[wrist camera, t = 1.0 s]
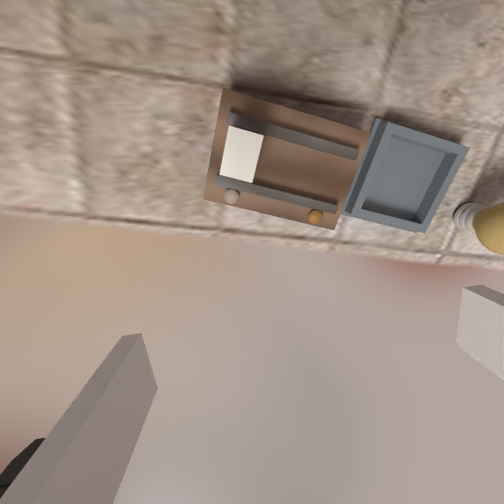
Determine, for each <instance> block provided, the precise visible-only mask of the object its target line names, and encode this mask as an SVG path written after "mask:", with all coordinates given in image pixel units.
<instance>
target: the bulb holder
mask: <svg viewBox="0 0 504 504" xmlns="http://www.w3.org/2000/svg"><path fill="white" fill-rule="evenodd" d="M369 132H370V133H372V134H371V136H370V139H369V142H368V144H367V147H366V149H365V152H364V154H363V157H362V160H361V162H360V165H359V167H358V170H357V173H356V175H355V178H354V180H353V183H352V186H351V188H350V191H349V193H348V196H347V198H346V201H345V204H344V206H343V209H342V211H341V214H343V215H347V216H351V217H355V218H359V219H363V220H367V221H371V222H375V223H379V224H383V225H387V226H391V227H395V228H399V229H403V230H407V231H411V232H415V233H417V231H419V232H423V233H425V232H426V230H427V228H428V226H429V224H430V222H431V220H432V219H433V217H434V215H435V213H436V211H437V209H438V207H439V205H440V203H441V201H442V200H443V198H444V196H445V194H446V192H447V190H448V188H449V186H450V184H451V182H452V181H453V179H454V177H455V175H456V173H457V171H458V169H459V167H460V165H461V163H462V162H463V160H464V158H465V156H466V154H467V152H468V150H469V147H466V146H463V145H461V144H457V143H454V142H451V141H448V140H445V139H442V138H438V137H435V136H432V135H429V134H426V133H423V132H419V131H416V130H413V129H410V128H407V127H404V126H401V125H397V124H394V123H391V122H388V121H385V120H382V119H378V118H375V119H374V121H373V123H372V126H371V129H370V131H369Z"/></svg>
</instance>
